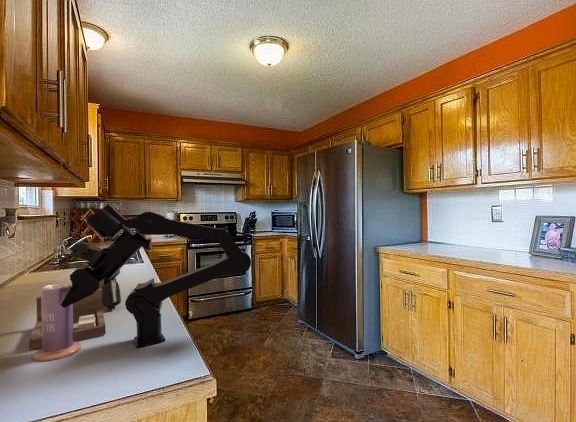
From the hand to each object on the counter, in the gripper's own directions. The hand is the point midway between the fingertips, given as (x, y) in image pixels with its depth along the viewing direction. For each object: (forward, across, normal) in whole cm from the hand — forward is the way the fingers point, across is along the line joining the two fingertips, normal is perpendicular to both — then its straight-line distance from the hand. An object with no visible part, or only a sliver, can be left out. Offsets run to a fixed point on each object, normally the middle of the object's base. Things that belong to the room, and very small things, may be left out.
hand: (70, 300), depth 74 cm
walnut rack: (+12, -14, +4) cm, 19 cm away
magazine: (+12, -44, +5) cm, 46 cm away
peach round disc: (+10, 0, +6) cm, 12 cm away
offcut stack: (+9, -14, +8) cm, 18 cm away
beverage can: (+10, 0, +6) cm, 12 cm away
